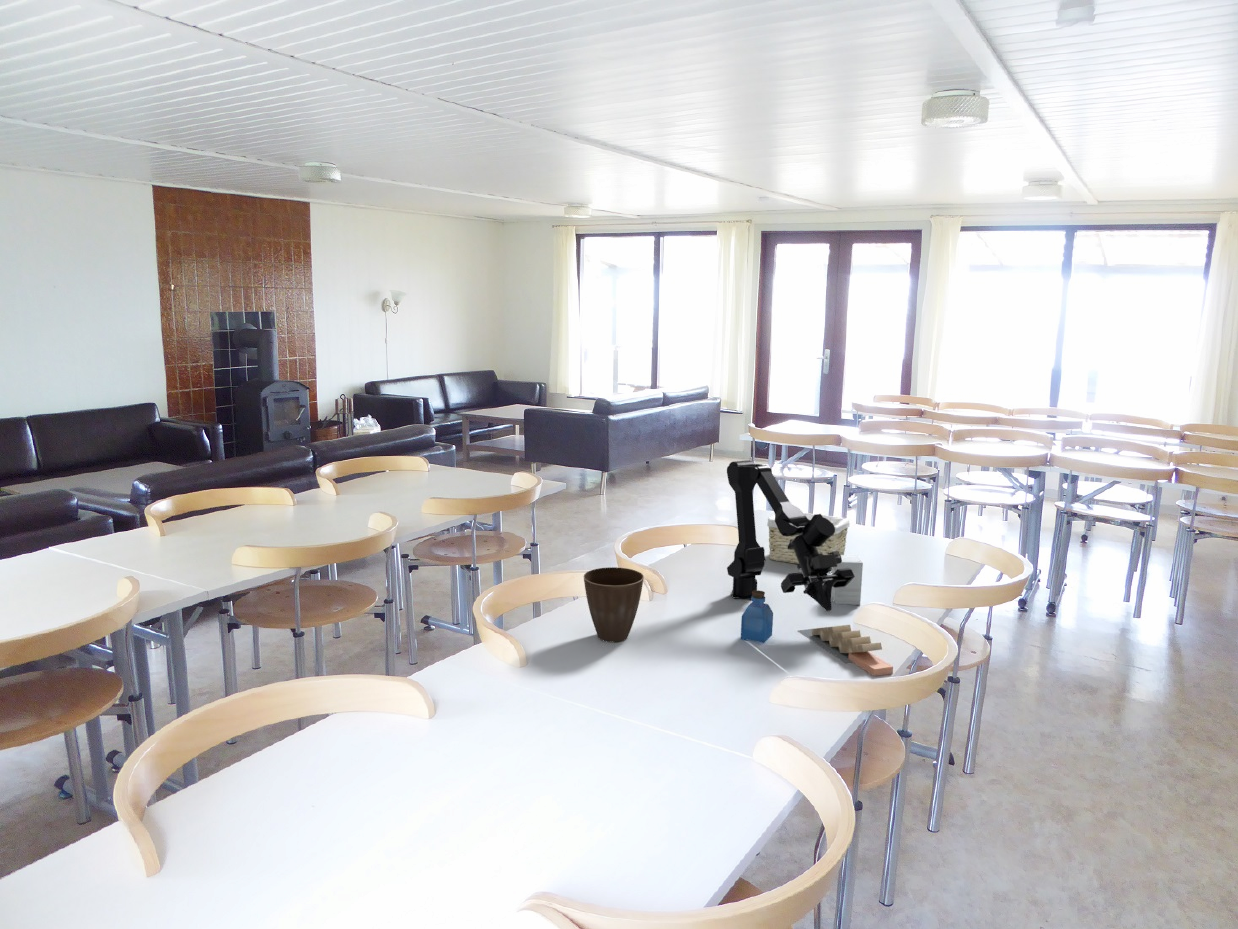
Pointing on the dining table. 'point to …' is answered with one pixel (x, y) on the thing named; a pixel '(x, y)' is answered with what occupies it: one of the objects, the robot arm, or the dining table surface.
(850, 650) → the domino
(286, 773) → the dining table surface
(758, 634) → the perfume bottle
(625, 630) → the plant pot
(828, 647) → the mat
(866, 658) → the domino
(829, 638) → the domino
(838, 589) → the supplement box
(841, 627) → the domino
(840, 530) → the storage basket
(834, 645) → the domino
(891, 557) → the dining table surface
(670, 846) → the dining table surface
